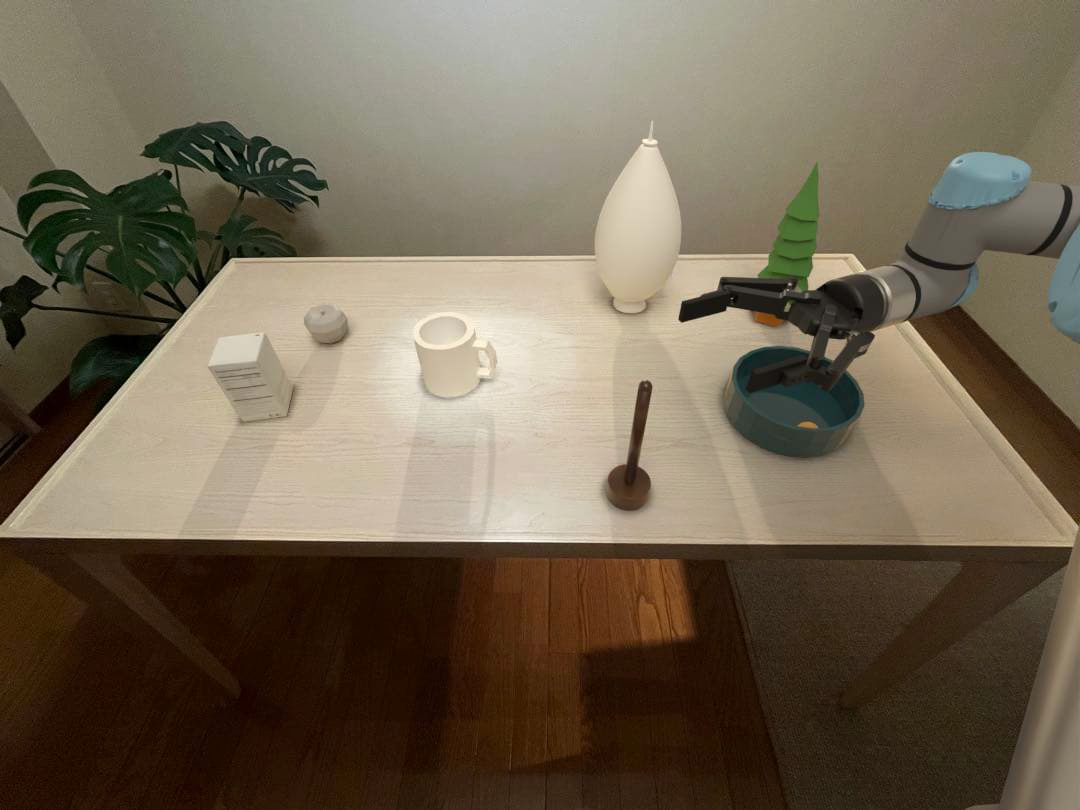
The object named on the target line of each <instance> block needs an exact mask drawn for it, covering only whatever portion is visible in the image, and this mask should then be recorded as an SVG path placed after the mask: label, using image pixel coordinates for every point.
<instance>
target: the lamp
mask: <svg viewBox="0 0 1080 810" xmlns="http://www.w3.org/2000/svg"><path fill="white" fill-rule="evenodd" d="M658 144H659V142H658V140H656V139H655V138H654V120H651V122H650V126H649V131H648V137H647V138H643V139H642V140H641V144H640V145H639V147H638V148H637V149H636V150H635V151H634V153H633V155H632V156H631V158H630V159H629V161H628V162H627V163H626V164H625V166H624V168H623V170H622V171H621V172H620V174H619V175H618V177H617V179H616V180H615V182H614V184H613V186H612V187H611V189H610V190H609V193H608V195H606V198H605V200H604V203H603V205H602V208H601V211H600V213H599V216H598V219H597V224H596V229H595V234H594V258H595V263H596V268H597V271H598V274H599V276H600V279H601V281H602V282H603V285H604V286H605V287H606V289H607V290H608V291H609V293H610V294H611V295H612V296H613V297H614V298H613V302H612V303H613V307H614V308H615V309H616V310H617V311H618V312H621V313H624V314H638V313H640V312H643V311H644V310H646V307H647V301H646V300H648V299H650V298H652V297H653V296H654V295H655V294H656V293H658V292H659V291H660V290H661V288H663V287H664V285H665V284H666V283H667V282H668V280H669V279H670V277H671V275H672V274H673V271H674V268H675V266H676V264H677V261H678V258H679V255H680V252H681V251H680V250H681V245H682V216H681V209H680V204H679V201H678V197H677V194H676V190H675V187H674V184H673V181H672V178H671V176H670V173H669V171H668V168H667V165H666V163H665V161H664V159H663V156H662V154H661V152H660V149H659V147H658Z"/></svg>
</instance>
